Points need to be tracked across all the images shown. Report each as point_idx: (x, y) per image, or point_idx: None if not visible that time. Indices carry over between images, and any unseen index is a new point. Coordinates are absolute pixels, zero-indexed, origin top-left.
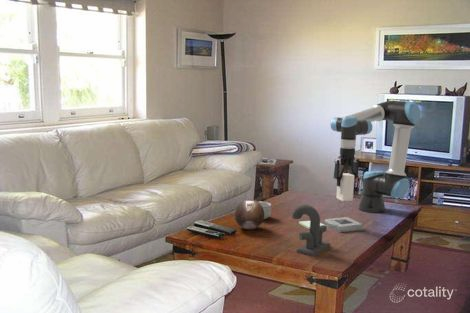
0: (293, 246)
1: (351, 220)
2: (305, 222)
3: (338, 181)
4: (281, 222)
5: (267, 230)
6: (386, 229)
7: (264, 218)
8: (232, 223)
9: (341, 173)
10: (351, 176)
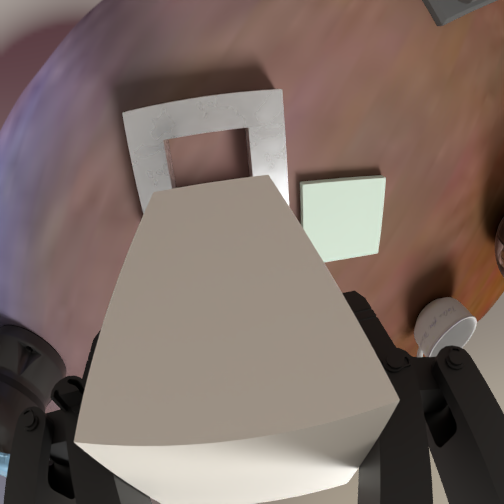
0: (493, 36)
1: (155, 187)
2: (361, 240)
3: (389, 338)
4: (414, 269)
5: (486, 198)
6: (22, 114)
7: (438, 299)
8: (500, 272)
9: (419, 462)
10: (161, 422)
